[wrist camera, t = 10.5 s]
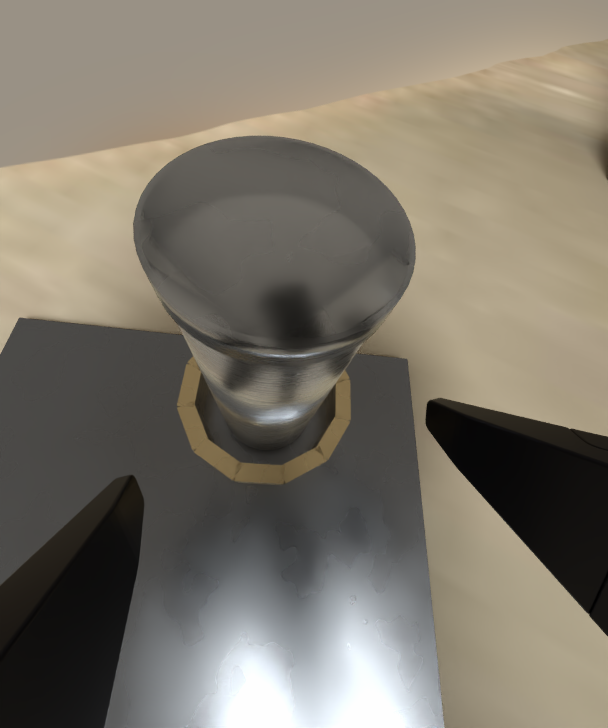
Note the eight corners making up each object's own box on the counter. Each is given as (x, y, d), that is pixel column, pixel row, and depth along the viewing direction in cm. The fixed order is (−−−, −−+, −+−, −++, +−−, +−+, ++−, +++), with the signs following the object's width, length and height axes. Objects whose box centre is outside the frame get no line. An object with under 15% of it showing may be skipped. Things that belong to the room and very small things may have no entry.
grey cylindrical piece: (292, 466, 16) (378, 397, 4) (205, 430, 16) (62, 269, 5) (323, 384, 18) (436, 189, 7) (246, 353, 19) (220, 107, 7)
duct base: (438, 758, 13) (491, 838, 10) (-198, 784, 11) (-381, 900, 8) (401, 359, 21) (425, 337, 18) (30, 320, 18) (-14, 286, 15)
